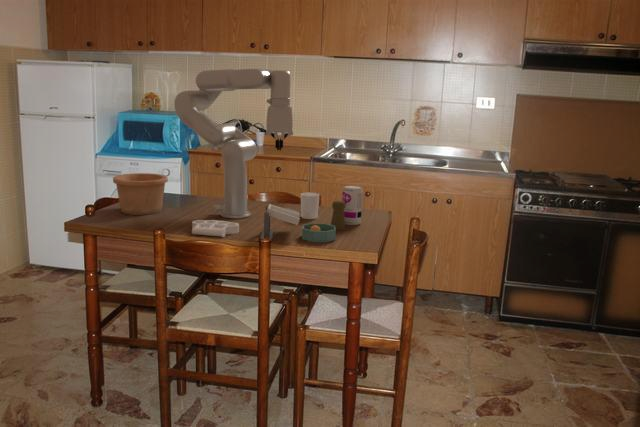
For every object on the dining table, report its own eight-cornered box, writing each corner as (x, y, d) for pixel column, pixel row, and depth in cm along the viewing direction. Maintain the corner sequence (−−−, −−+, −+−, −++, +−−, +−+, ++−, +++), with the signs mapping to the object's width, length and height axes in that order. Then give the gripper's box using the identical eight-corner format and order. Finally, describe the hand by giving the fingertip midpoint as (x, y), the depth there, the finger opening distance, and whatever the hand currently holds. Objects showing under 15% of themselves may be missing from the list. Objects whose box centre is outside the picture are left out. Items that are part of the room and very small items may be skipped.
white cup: (316, 220, 243) (317, 196, 241) (298, 218, 244) (298, 195, 242) (320, 216, 250) (321, 193, 248) (302, 214, 252) (303, 191, 250)
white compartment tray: (183, 235, 214) (198, 226, 228) (231, 239, 211) (243, 229, 225) (183, 226, 213) (198, 217, 227) (231, 230, 211) (243, 221, 225)
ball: (314, 224, 213) (322, 231, 214) (314, 222, 217) (322, 228, 218) (307, 233, 214) (316, 239, 214) (307, 230, 218) (315, 236, 218)
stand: (260, 241, 209) (260, 214, 207) (262, 231, 222) (263, 205, 220) (271, 241, 209) (271, 214, 207) (273, 231, 223) (273, 205, 220)
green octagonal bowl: (302, 241, 210) (302, 231, 209) (302, 233, 222) (302, 222, 221) (336, 242, 211) (336, 231, 210) (334, 233, 223) (334, 223, 222)
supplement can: (347, 226, 235) (349, 189, 232) (337, 221, 242) (339, 185, 239) (364, 224, 239) (366, 188, 235) (354, 220, 246) (356, 184, 242)
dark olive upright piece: (329, 226, 234) (330, 199, 232) (344, 226, 235) (345, 199, 232) (330, 230, 228) (332, 202, 226) (346, 230, 229) (347, 202, 226)
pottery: (174, 206, 259) (173, 174, 256) (159, 217, 238) (158, 182, 234) (125, 204, 260) (124, 172, 256) (106, 215, 238) (104, 180, 235)
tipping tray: (265, 214, 210) (268, 208, 209) (268, 204, 227) (270, 198, 227) (297, 225, 211) (299, 218, 210) (298, 214, 228) (300, 208, 228)
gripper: (260, 102, 225) (259, 150, 229) (299, 104, 225) (297, 151, 229) (261, 101, 232) (260, 148, 236) (299, 103, 232) (298, 149, 237)
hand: (279, 149), depth 233 cm, fingers closed
